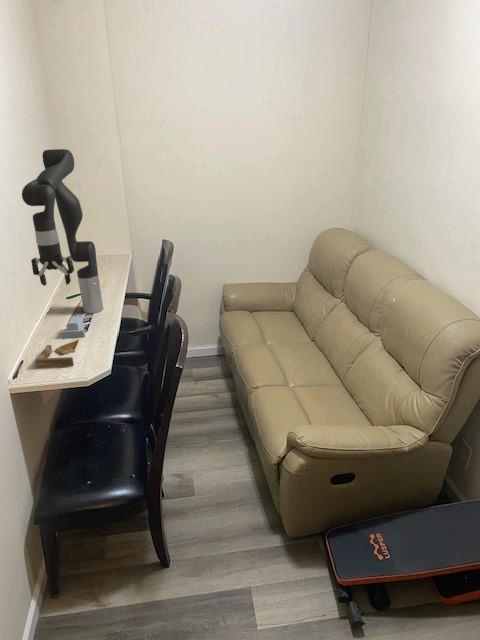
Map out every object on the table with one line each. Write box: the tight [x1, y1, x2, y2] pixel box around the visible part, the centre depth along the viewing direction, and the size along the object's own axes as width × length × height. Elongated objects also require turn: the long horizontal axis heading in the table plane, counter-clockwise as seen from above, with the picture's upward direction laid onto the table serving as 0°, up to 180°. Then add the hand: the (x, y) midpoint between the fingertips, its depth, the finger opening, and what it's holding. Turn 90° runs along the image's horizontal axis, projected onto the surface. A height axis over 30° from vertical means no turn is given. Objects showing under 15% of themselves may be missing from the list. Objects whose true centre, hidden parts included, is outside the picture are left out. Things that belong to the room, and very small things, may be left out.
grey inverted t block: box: [61, 315, 86, 339], centre depth 200 cm, size 10×9×6 cm
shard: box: [55, 338, 80, 355], centre depth 187 cm, size 11×8×2 cm
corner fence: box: [35, 344, 75, 369], centre depth 178 cm, size 13×13×3 cm
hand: (56, 284), depth 176 cm, fingers open, 8 cm apart
